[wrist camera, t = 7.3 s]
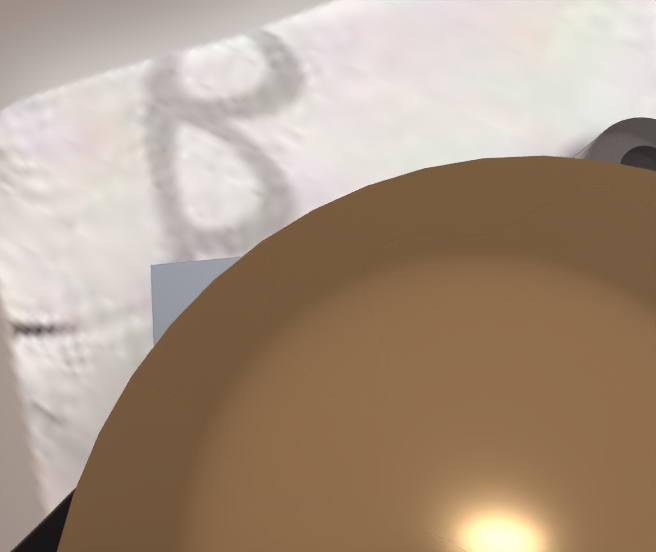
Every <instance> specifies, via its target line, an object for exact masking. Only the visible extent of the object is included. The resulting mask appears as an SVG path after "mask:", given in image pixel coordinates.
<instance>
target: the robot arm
mask: <svg viewBox="0 0 656 552" xmlns="http://www.w3.org/2000/svg"><path fill="white" fill-rule="evenodd" d="M75 490H76V488H75V489H74V490H73V491H72V492H71V493H70V494H69V495H68V496H67V497H66V498H65V499H64V500H63V501H62V502H61V503H60V504H59V505H58V506H57V507H56V508H55V509H54V510H53V511H52V512H51V513H50V514H49V515H48V516H47V517H46V518H45V519H44V520H43V521H42V522H41V523H40V524H39V525H38V526H37V527H36V528H35V529H34V530H33V531H32V532H31V533H30V534H29V535H27V537H25V539H23V540H22V541H21V542H20V543H19V544H18V545H17V546H16V547H15V548H14V549H13V550H12V551H11V552H57V550H58V546H59V543H60V539H61V536H62V532H63V529H64V525H65V522H66V518H67V515H68V511H69V508H70V504H71V501H72V497H73V494H74V492H75Z"/></svg>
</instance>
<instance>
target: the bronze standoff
mask: <svg viewBox="0 0 656 552" xmlns="http://www.w3.org/2000/svg"><path fill="white" fill-rule="evenodd" d="M57 552H656V171H653V170H648V169H643V168H638V167H633V166H628V165H623V164H618V163H613V162H608V161H602V160H590V159H577V158H564V157H552V156H528V157H505V158H483V159H477V160H471V161H465V162H459V163H454V164H448V165H442V166H436V167H430V168H424V169H421V170H418V171H414V172H411V173H408V174H404V175H401V176H398V177H395V178H391V179H388V180H385V181H381V182H378V183H375V184H372V185H368V186H366V187H363V188H361V189H359V190H357V191H355V192H352V193H350V194H348V195H346V196H343V197H341V198H339V199H337V200H335V201H332V202H330V203H328V204H326V205H323V206H321V207H319V208H317V209H315V210H312V211H311V212H309V213H307V214H306V215H304V216H303V217H301V218H299V219H298V220H296V221H294V222H293V223H291V224H290V225H288V226H286V227H285V228H283V229H281V230H280V231H278V232H276V233H275V234H273V235H272V236H270V237H268V238H267V239H265V240H263V241H262V242H260V243H259V244H258V245H257V246H255V247H254V248H253V249H252V250H250V251H249V252H248V253H247V254H245V255H244V256H243V257H242V258H241V259H239V260H238V261H237V262H236V263H234V264H233V265H232V266H231V267H229V268H228V269H227V270H226V271H224V272H223V273H222V274H221V275H219V276H218V277H217V278H216V279H214V280H213V281H212V282H211V283H210V284H209V285H208V286H207V287H206V288H205V290H204V291H203V292H202V293H201V294H200V295H199V296H198V297H197V298H196V299H195V300H194V301H193V302H192V303H191V304H190V305H189V306H188V307H187V308H186V309H185V310H184V311H183V312H182V313H181V314H180V315H179V316H178V317H177V319H176V320H175V321H174V322H173V323H172V324H171V325H170V326H169V327H168V329H167V330H166V331H165V333H164V334H163V335H162V337H161V338H160V339H159V341H158V342H157V343H156V345H155V346H154V347H153V349H152V350H151V351H150V353H149V354H148V355H147V357H146V358H145V359H144V361H143V362H142V363H141V365H140V366H139V367H138V369H137V370H136V371H135V373H134V374H133V375H132V377H131V379H130V380H129V382H128V384H127V386H126V387H125V389H124V391H123V393H122V394H121V396H120V398H119V400H118V401H117V403H116V405H115V407H114V408H113V410H112V412H111V414H110V415H109V417H108V419H107V421H106V422H105V424H104V426H103V428H102V429H101V431H100V433H99V435H98V437H97V440H96V442H95V445H94V447H93V449H92V452H91V454H90V456H89V459H88V461H87V464H86V466H85V468H84V471H83V473H82V475H81V478H80V480H79V482H78V485H77V487H76V490H75V492H74V494H73V497H72V501H71V504H70V508H69V511H68V515H67V518H66V522H65V525H64V529H63V532H62V536H61V539H60V543H59V546H58V550H57Z"/></svg>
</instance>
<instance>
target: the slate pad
mask: <svg viewBox="0 0 656 552" xmlns="http://www.w3.org/2000/svg"><path fill="white" fill-rule="evenodd" d="M241 258H242V257H235V258H225V259H214V260H203V261H192V262H181V263H171V264H160V265H151V285H152V311H153V337H154V346H155V345H156V343H157V342H158V341H159V339H160V338H161V337H162V335H163V334H164V333H165V331H166V330H167V329H168V327H169V326H170V325H171V324H172V323H173V322H174V321H175V320H176V319H177V317H178V316H179V315H180V314H181V313H182V312H183V311H184V310H185V309H186V308H187V307H188V306H189V305H190V304H191V303H192V302H193V301H194V300H195V299H196V298H197V297H198V296H199V295H200V294H201V293H202V292H203V291H204V290H205V288H206V287H207V286H208V285H209V284H210V283H211V282H212V281H213V280H214V279H216V278H217V277H218V276H219V275H221V274H222V273H223V272H224V271H226V270H227V269H228V268H229V267H231V266H232V265H233V264H234V263H236V262H237V261H238V260H239V259H241Z"/></svg>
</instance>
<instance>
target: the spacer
mask: <svg viewBox="0 0 656 552" xmlns="http://www.w3.org/2000/svg"><path fill="white" fill-rule="evenodd" d="M574 158H577V159H590V160H602V161H608V162H613V163H618V164H623V165H628V166H633V167H638V168H643V169H648V170H653V171H656V119H652V118H631V119H626V120H623V121H620V122H618V123H615V124H614V125H612V126H610V127H609V128H608V129H606V130H605V131H604V132H603V133H602V134H600V135H599V136H598V137H597V138H596V139H595V140H594V141H592V142H591V143H590V144H589V145H588V146H587V147H586V148H584V149H583V150H582V151H581V152H580V153H579V154H578V155H576V156H575V157H574Z"/></svg>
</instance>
